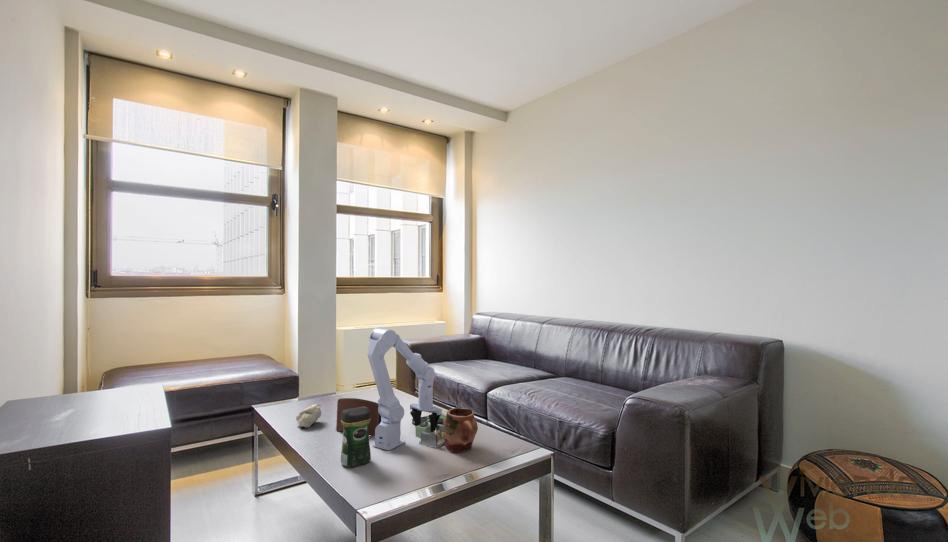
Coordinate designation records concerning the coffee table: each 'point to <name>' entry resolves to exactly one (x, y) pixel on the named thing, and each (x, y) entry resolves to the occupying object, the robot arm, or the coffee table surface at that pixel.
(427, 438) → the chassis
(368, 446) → the coffee jar
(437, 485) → the coffee table surface
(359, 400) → the letter holder
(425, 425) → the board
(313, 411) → the fossil replica
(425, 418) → the disk drive
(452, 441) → the decorative planter
